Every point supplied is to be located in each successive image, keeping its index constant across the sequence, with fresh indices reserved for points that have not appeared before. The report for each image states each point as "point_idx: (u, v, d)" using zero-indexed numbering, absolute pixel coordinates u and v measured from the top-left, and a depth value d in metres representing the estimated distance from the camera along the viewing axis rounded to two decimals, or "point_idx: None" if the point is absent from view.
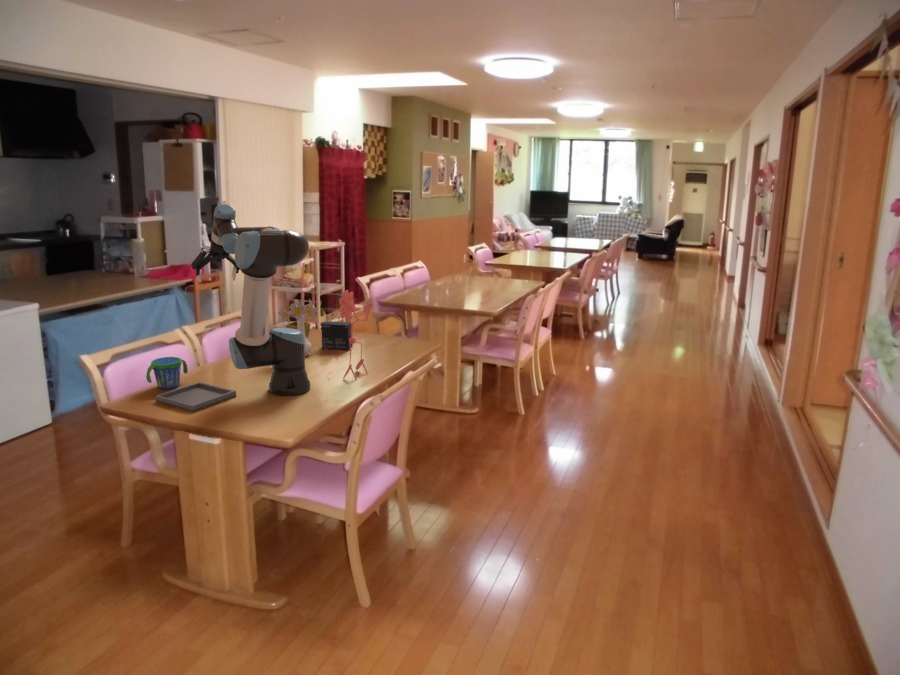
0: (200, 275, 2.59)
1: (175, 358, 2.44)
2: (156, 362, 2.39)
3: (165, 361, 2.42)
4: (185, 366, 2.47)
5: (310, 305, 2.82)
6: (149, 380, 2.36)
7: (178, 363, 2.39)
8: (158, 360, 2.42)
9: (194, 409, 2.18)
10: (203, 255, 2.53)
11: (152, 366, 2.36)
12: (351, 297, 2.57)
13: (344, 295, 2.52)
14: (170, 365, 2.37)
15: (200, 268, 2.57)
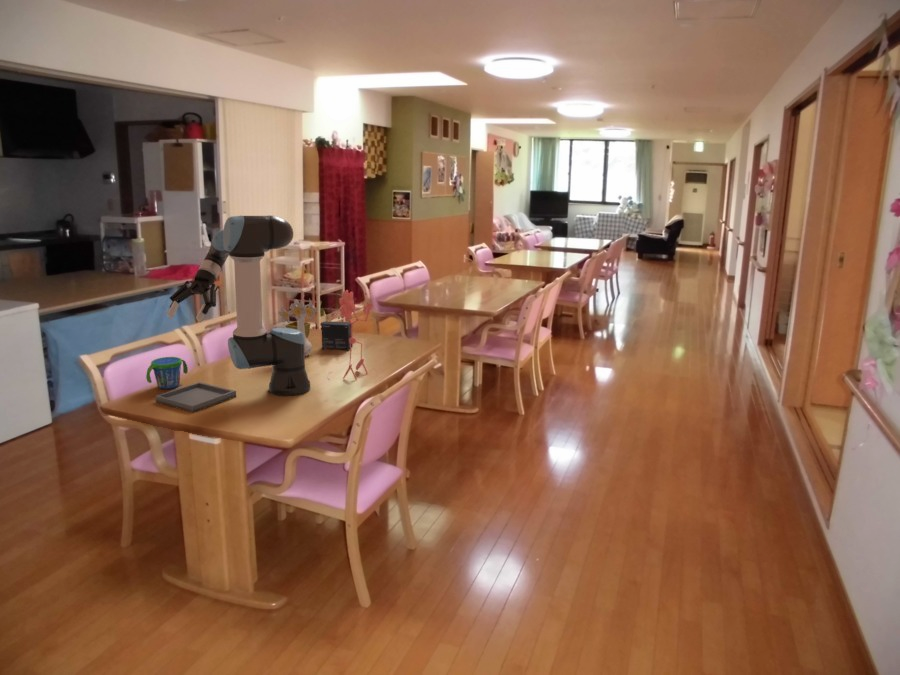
0: (171, 306, 2.50)
1: (175, 358, 2.44)
2: (156, 362, 2.39)
3: (165, 361, 2.42)
4: (185, 366, 2.47)
5: (310, 305, 2.82)
6: (149, 380, 2.36)
7: (178, 363, 2.39)
8: (158, 360, 2.42)
9: (194, 409, 2.18)
10: (184, 284, 2.55)
11: (152, 366, 2.36)
12: (351, 297, 2.57)
13: (344, 295, 2.52)
14: (170, 365, 2.37)
15: (175, 298, 2.52)
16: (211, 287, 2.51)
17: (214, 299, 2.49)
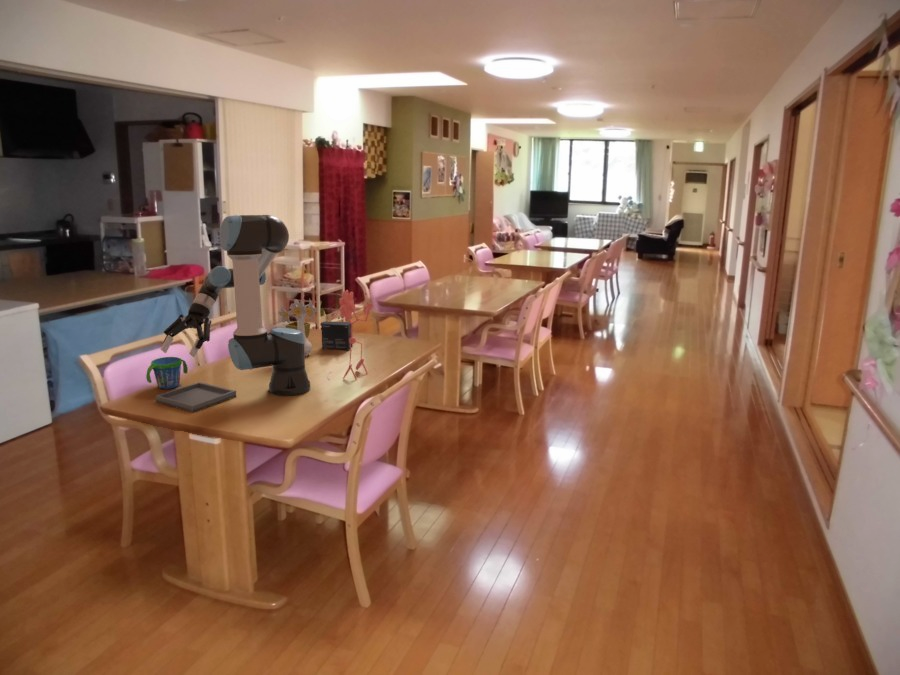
0: (165, 340, 2.50)
1: (175, 358, 2.44)
2: (156, 362, 2.39)
3: (165, 361, 2.42)
4: (185, 366, 2.47)
5: (310, 305, 2.82)
6: (149, 380, 2.36)
7: (178, 363, 2.39)
8: (158, 360, 2.42)
9: (194, 409, 2.18)
10: (178, 318, 2.55)
11: (152, 366, 2.36)
12: (351, 297, 2.57)
13: (344, 295, 2.52)
14: (170, 365, 2.37)
15: (169, 333, 2.52)
16: (205, 321, 2.51)
17: (208, 333, 2.49)
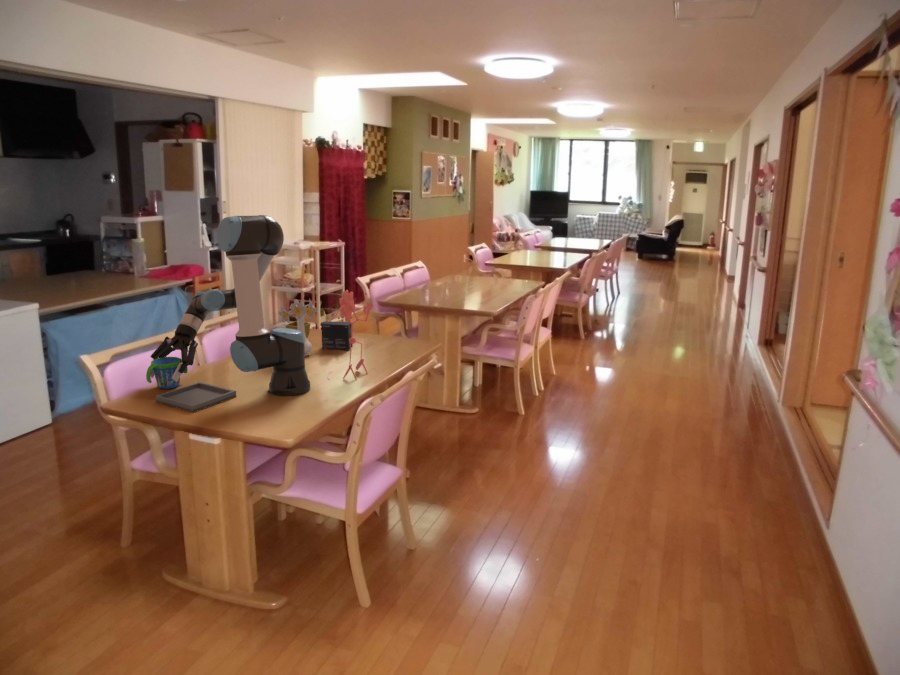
0: None
1: (175, 358, 2.44)
2: (156, 362, 2.39)
3: (165, 361, 2.42)
4: None
5: (310, 305, 2.82)
6: (149, 380, 2.36)
7: (178, 363, 2.39)
8: (157, 360, 2.42)
9: (194, 409, 2.18)
10: (164, 340, 2.47)
11: (152, 366, 2.36)
12: (351, 297, 2.57)
13: (344, 295, 2.52)
14: (170, 365, 2.37)
15: (156, 357, 2.44)
16: (191, 344, 2.44)
17: (192, 357, 2.42)
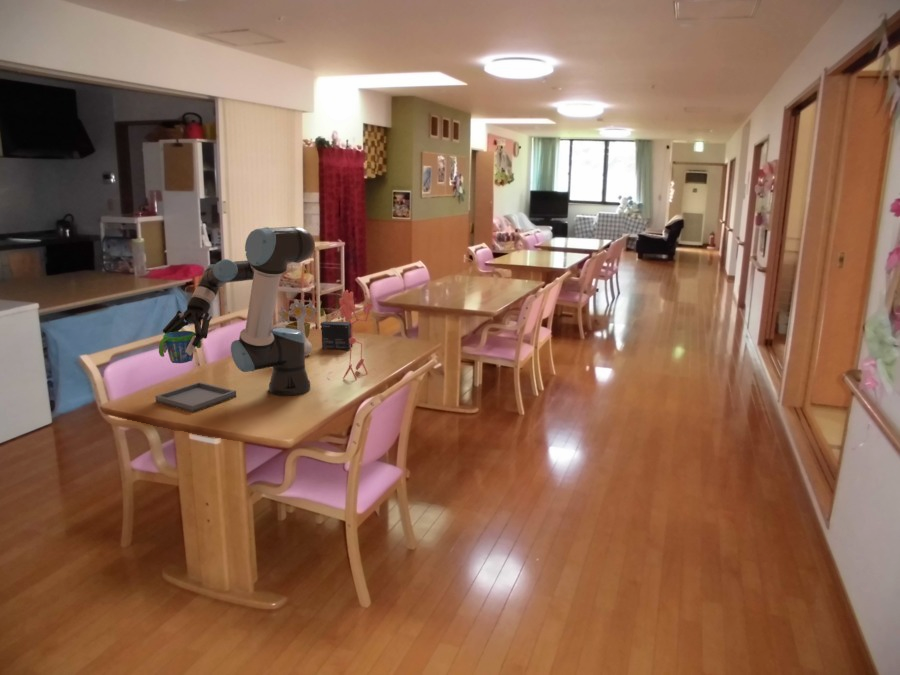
0: None
1: (188, 332, 2.35)
2: (168, 335, 2.30)
3: (178, 335, 2.32)
4: None
5: (310, 305, 2.82)
6: (162, 354, 2.26)
7: (191, 336, 2.30)
8: (170, 334, 2.32)
9: (194, 409, 2.18)
10: (177, 314, 2.38)
11: (164, 339, 2.26)
12: (351, 297, 2.57)
13: (344, 295, 2.52)
14: (183, 338, 2.27)
15: (169, 331, 2.34)
16: (204, 316, 2.34)
17: (206, 330, 2.32)
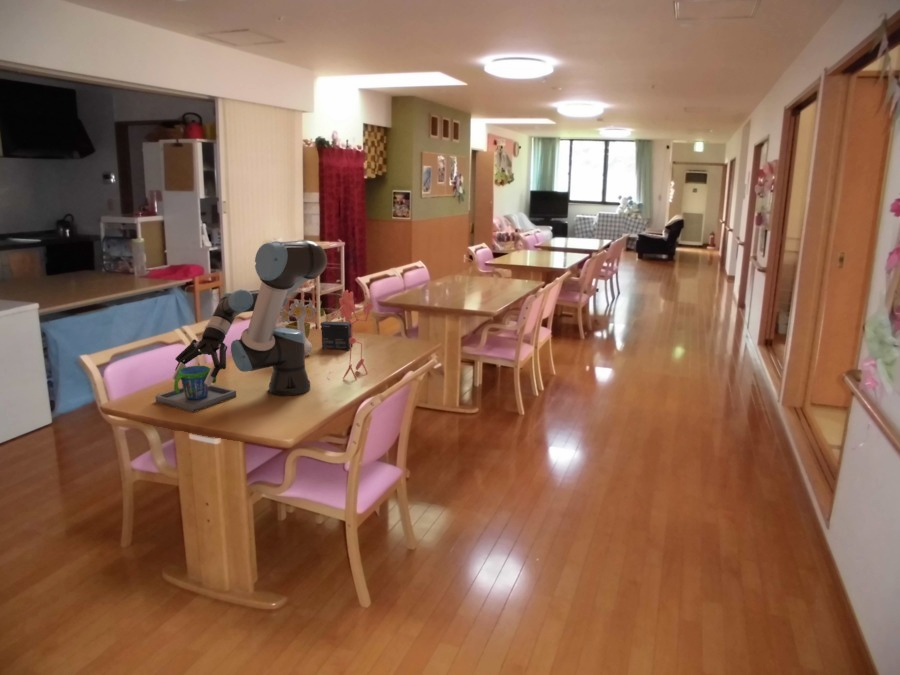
0: (177, 368, 2.29)
1: (203, 367, 2.32)
2: (184, 371, 2.27)
3: (193, 370, 2.29)
4: None
5: (310, 305, 2.82)
6: (177, 390, 2.23)
7: (207, 372, 2.27)
8: (185, 369, 2.29)
9: (194, 409, 2.18)
10: (191, 343, 2.34)
11: (180, 376, 2.23)
12: (351, 297, 2.57)
13: (344, 295, 2.52)
14: (199, 375, 2.24)
15: (182, 359, 2.31)
16: (220, 347, 2.31)
17: (224, 360, 2.29)
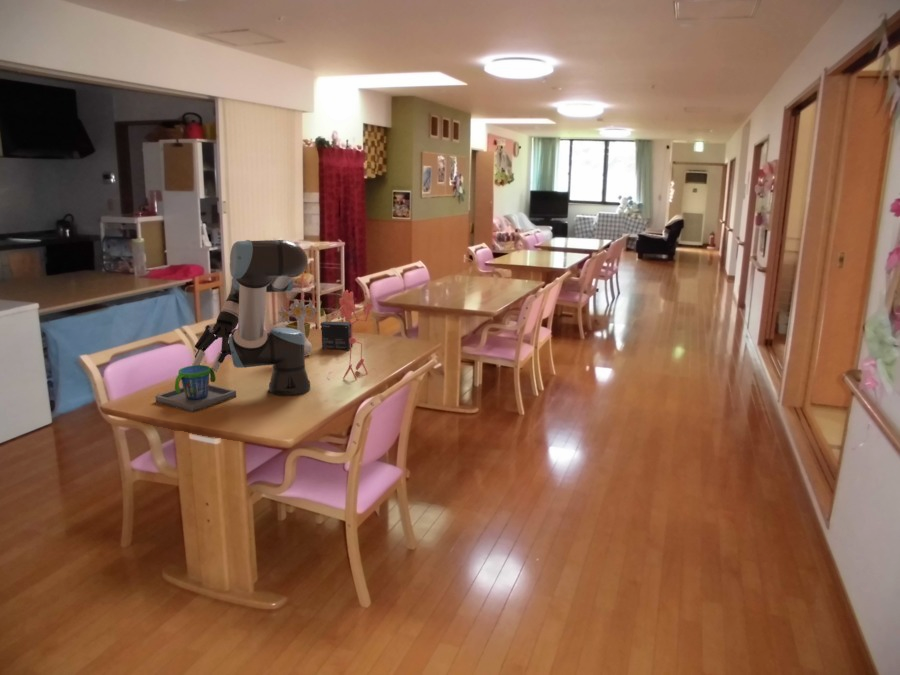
0: (197, 355, 2.36)
1: (202, 366, 2.32)
2: (184, 371, 2.27)
3: (192, 370, 2.29)
4: (213, 374, 2.35)
5: (310, 305, 2.82)
6: (178, 390, 2.23)
7: (207, 371, 2.27)
8: (184, 369, 2.29)
9: (194, 409, 2.18)
10: (206, 329, 2.42)
11: (181, 375, 2.23)
12: (351, 297, 2.57)
13: (344, 295, 2.52)
14: (200, 374, 2.24)
15: (201, 346, 2.38)
16: (233, 333, 2.38)
17: None
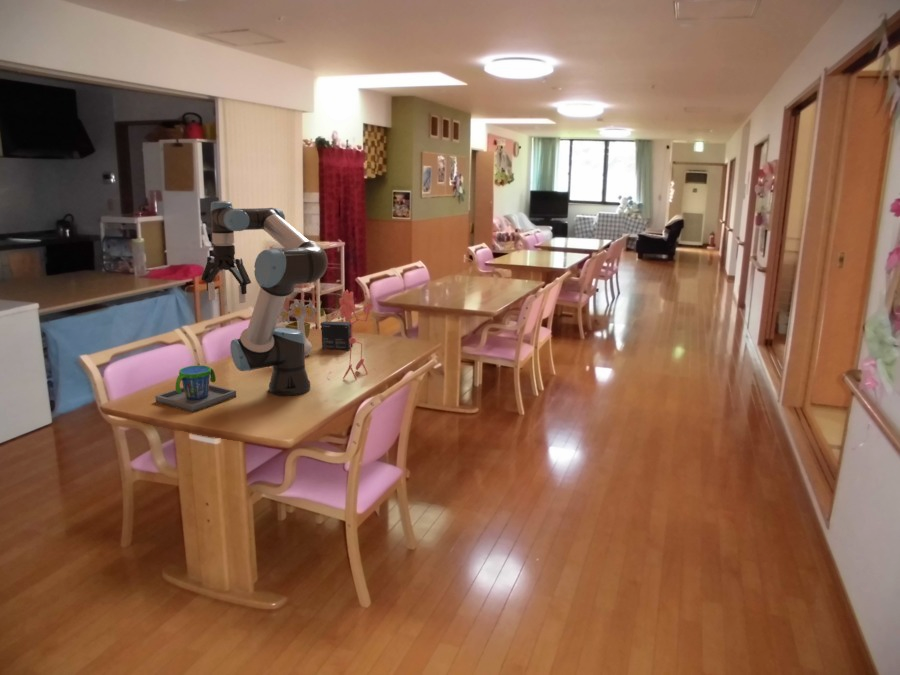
0: (209, 290, 2.43)
1: (203, 366, 2.32)
2: (184, 371, 2.27)
3: (193, 370, 2.29)
4: (213, 375, 2.35)
5: (310, 305, 2.82)
6: (179, 391, 2.23)
7: (208, 372, 2.27)
8: (185, 369, 2.29)
9: (194, 409, 2.18)
10: (208, 261, 2.40)
11: (182, 376, 2.23)
12: (351, 297, 2.57)
13: (344, 295, 2.52)
14: (201, 374, 2.25)
15: (208, 280, 2.42)
16: (236, 264, 2.36)
17: (246, 275, 2.38)
